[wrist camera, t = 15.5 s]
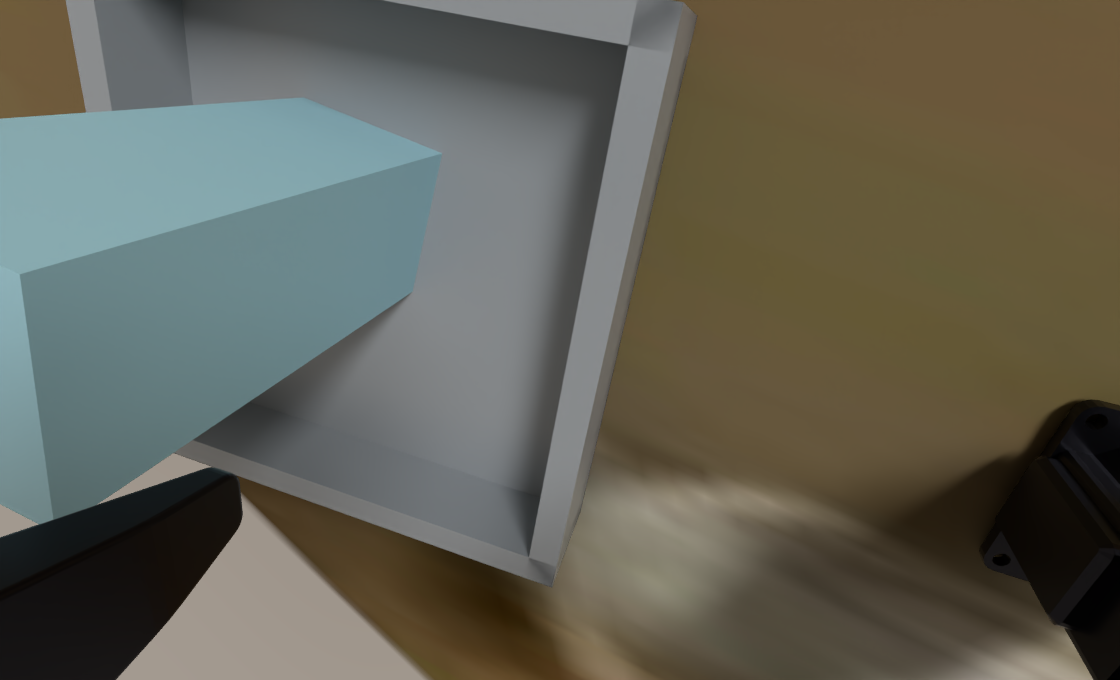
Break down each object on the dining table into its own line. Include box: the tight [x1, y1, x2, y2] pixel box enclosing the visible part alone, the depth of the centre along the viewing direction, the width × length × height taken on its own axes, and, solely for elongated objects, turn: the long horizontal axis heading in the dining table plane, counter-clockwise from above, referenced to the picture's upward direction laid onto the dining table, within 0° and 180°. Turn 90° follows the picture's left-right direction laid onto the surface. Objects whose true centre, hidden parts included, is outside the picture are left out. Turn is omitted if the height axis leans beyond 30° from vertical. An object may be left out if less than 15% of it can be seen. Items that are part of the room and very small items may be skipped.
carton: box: [0, 97, 442, 524], centre depth 14 cm, size 5×5×14 cm
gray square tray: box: [66, 0, 697, 587], centre depth 20 cm, size 17×18×4 cm
